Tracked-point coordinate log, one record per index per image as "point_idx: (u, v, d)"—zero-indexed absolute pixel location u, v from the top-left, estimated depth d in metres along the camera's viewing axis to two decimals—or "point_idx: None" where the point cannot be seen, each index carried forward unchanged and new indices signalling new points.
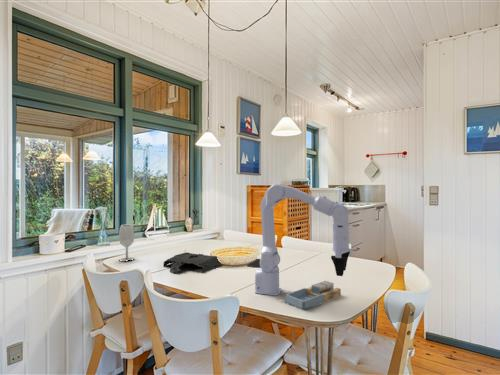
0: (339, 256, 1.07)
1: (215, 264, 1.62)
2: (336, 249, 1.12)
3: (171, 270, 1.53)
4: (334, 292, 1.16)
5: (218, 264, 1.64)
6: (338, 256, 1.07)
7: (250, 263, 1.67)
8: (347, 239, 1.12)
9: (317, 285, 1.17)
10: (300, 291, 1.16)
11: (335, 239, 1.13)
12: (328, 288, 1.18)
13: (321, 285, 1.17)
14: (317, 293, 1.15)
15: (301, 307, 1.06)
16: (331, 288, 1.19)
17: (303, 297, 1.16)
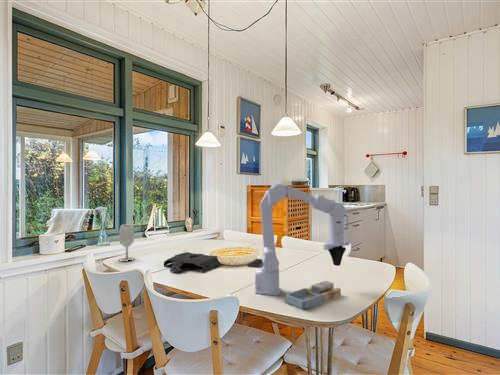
0: (326, 248, 1.19)
1: (215, 264, 1.62)
2: (330, 242, 1.24)
3: (171, 270, 1.54)
4: (334, 292, 1.16)
5: (218, 264, 1.64)
6: (325, 248, 1.20)
7: (250, 263, 1.67)
8: (340, 234, 1.21)
9: (317, 285, 1.17)
10: (300, 291, 1.16)
11: (329, 233, 1.24)
12: (328, 288, 1.18)
13: (321, 285, 1.17)
14: (317, 293, 1.15)
15: (301, 307, 1.06)
16: (331, 288, 1.19)
17: (303, 297, 1.16)
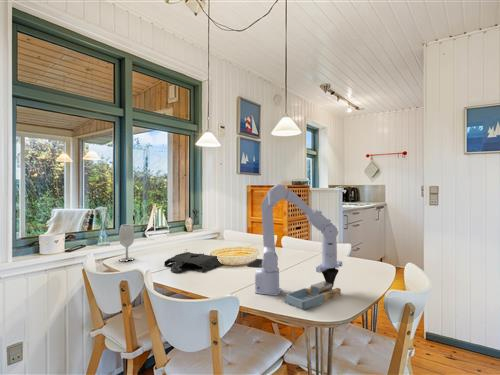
0: (318, 271, 1.16)
1: (216, 264, 1.62)
2: (322, 264, 1.21)
3: (172, 270, 1.54)
4: (334, 292, 1.16)
5: (219, 264, 1.65)
6: (318, 271, 1.17)
7: (250, 263, 1.67)
8: (333, 256, 1.19)
9: (316, 285, 1.17)
10: (300, 291, 1.16)
11: (322, 255, 1.21)
12: (327, 289, 1.17)
13: (320, 285, 1.17)
14: (316, 293, 1.15)
15: (301, 307, 1.06)
16: (330, 289, 1.18)
17: (303, 297, 1.16)
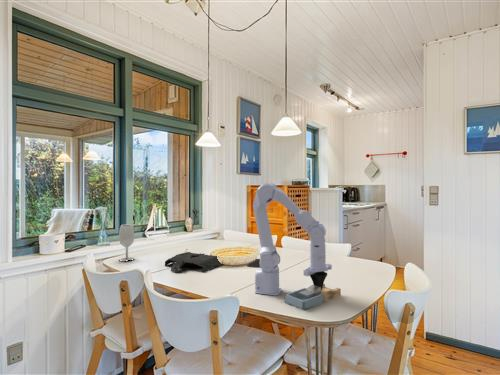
0: (306, 274, 1.12)
1: (216, 264, 1.62)
2: (311, 267, 1.16)
3: (172, 269, 1.54)
4: (334, 292, 1.16)
5: (219, 264, 1.65)
6: (305, 274, 1.12)
7: (250, 263, 1.67)
8: (321, 259, 1.14)
9: (304, 292, 1.12)
10: (300, 291, 1.16)
11: (310, 257, 1.17)
12: (316, 294, 1.13)
13: (308, 292, 1.12)
14: (303, 300, 1.11)
15: (301, 307, 1.06)
16: (319, 293, 1.14)
17: None
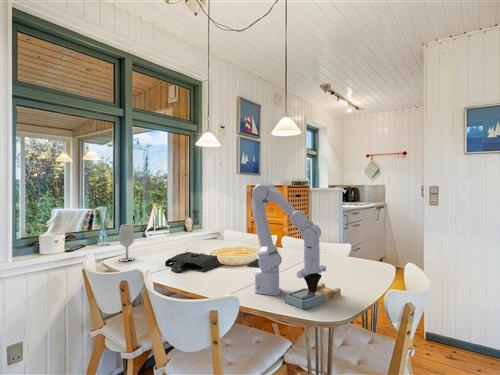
0: (299, 276, 1.10)
1: (216, 264, 1.63)
2: (304, 269, 1.14)
3: (172, 269, 1.55)
4: (334, 292, 1.16)
5: (219, 264, 1.65)
6: (299, 276, 1.10)
7: (250, 263, 1.67)
8: (315, 260, 1.12)
9: (298, 294, 1.10)
10: (300, 291, 1.16)
11: (304, 259, 1.14)
12: None
13: (302, 295, 1.10)
14: None
15: (301, 307, 1.06)
16: None
17: None
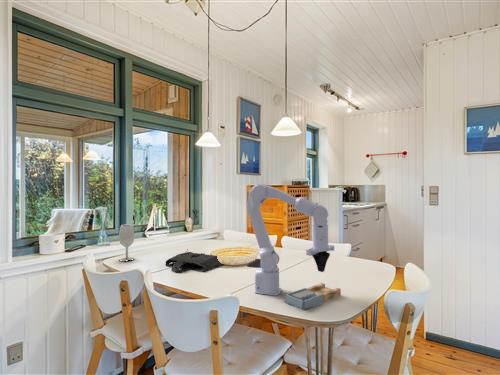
0: (309, 254, 1.14)
1: (216, 263, 1.63)
2: (313, 248, 1.18)
3: (173, 269, 1.55)
4: (334, 292, 1.16)
5: (219, 263, 1.65)
6: (308, 254, 1.14)
7: (250, 263, 1.67)
8: (323, 239, 1.16)
9: (298, 295, 1.10)
10: (300, 291, 1.16)
11: (313, 238, 1.19)
12: None
13: (302, 295, 1.10)
14: None
15: (301, 307, 1.06)
16: None
17: None
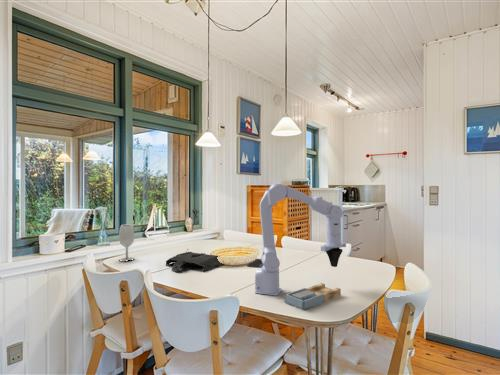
0: (323, 250, 1.21)
1: (217, 263, 1.63)
2: (327, 244, 1.25)
3: (173, 269, 1.55)
4: (334, 292, 1.16)
5: (220, 263, 1.65)
6: (323, 250, 1.21)
7: (250, 263, 1.67)
8: (337, 236, 1.23)
9: (298, 295, 1.10)
10: (300, 291, 1.16)
11: (327, 235, 1.26)
12: None
13: (302, 295, 1.10)
14: None
15: (301, 307, 1.06)
16: None
17: None
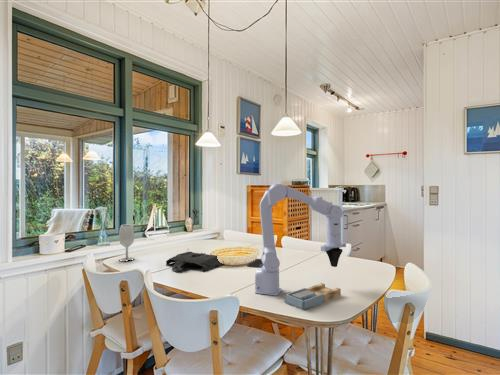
0: (323, 250, 1.21)
1: (217, 263, 1.63)
2: (327, 244, 1.25)
3: (173, 269, 1.55)
4: (334, 292, 1.16)
5: (220, 263, 1.66)
6: (323, 250, 1.21)
7: (250, 263, 1.67)
8: (337, 236, 1.23)
9: (298, 295, 1.10)
10: (300, 291, 1.16)
11: (327, 235, 1.26)
12: None
13: (302, 295, 1.10)
14: None
15: (301, 307, 1.06)
16: None
17: None
